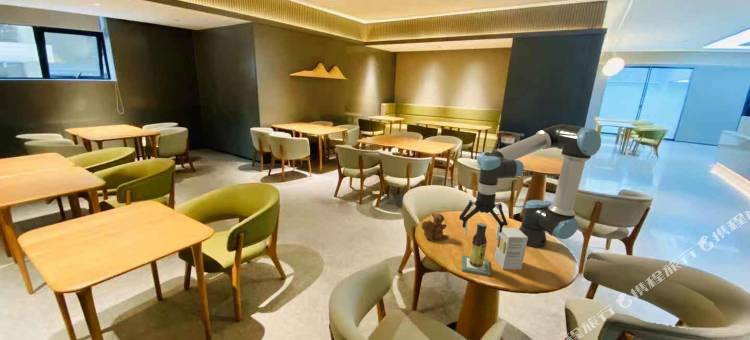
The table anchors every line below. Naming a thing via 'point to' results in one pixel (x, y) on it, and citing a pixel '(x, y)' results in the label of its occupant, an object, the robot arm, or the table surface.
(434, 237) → the stuffed squirrel
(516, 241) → the supplement box
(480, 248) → the sauce bottle
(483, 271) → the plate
